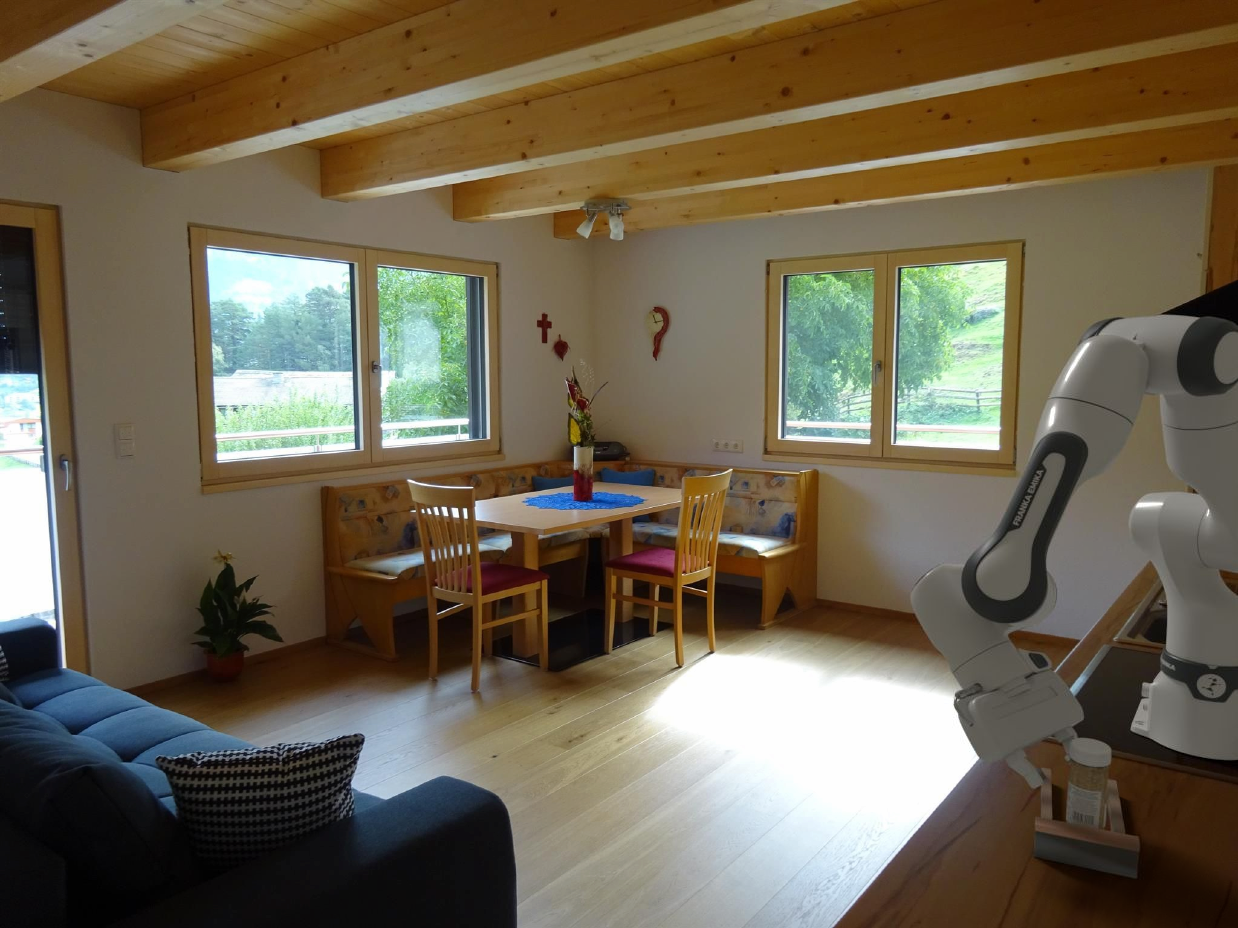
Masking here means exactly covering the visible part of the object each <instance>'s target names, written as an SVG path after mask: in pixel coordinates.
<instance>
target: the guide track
mask: <svg viewBox="0 0 1238 928" xmlns="http://www.w3.org/2000/svg"><path fill="white" fill-rule="evenodd" d="M1041 770H1042V771H1043V773H1044V775H1045V776H1046V777H1047V780H1048V781H1047V782H1046V783H1044V784H1043V785H1041V786H1040V816H1035V818H1034V819H1035V820H1034V840H1033V841H1034V842H1033V843H1034V844H1033V857H1034V858H1038V859H1043V860H1047V861H1052V862H1056V863H1061V864H1065V865H1070V866H1075V867H1080V868H1083V869H1084V868H1085V869H1090V870H1095V871H1099V872H1103V873H1108V874H1114V875H1117V876H1122V877H1128V878H1131V879H1135V880H1137V879H1138V870H1139V869H1138V867H1139V858H1140V857H1139V856H1140V850H1141V844H1140V838H1139V836H1137V835H1132V834H1126V828H1125V823H1124V817H1123V812H1122V806H1121V799H1120V794H1119V790H1118V784H1117V783H1118V782H1117V780H1115V779H1110V778H1108V785H1107V799H1106V803H1107V813H1108V821H1109V826H1110V830H1105V829H1104V830H1102V829H1097V828H1092V827H1086V826H1081V825H1076V824H1071V823H1066V821H1062V820H1055V819H1053V803H1052V802H1053V798H1052V793H1053V792H1052V789H1053V788H1052V769H1051V768H1046V767H1041Z"/></svg>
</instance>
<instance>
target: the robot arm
mask: <svg viewBox="0 0 1238 928" xmlns="http://www.w3.org/2000/svg"><path fill="white" fill-rule="evenodd" d="M1145 395H1146V396H1147V395H1149V396H1155V395H1159V408H1160V409H1159V410H1160V421H1161V429H1162V436H1163V444H1164V451H1165V460H1166V464H1167V466H1168V468H1169V470H1170V472H1171V474H1173V475H1174V476H1175V477H1176V478H1177V479H1179V480H1180V481H1181V482H1183V483H1185V484H1186V485H1188V486H1189V487H1191V488H1192V489H1193V490H1195V491H1196V493H1193V492H1186V491H1185V492H1184V491H1164V492H1161V491H1160V492H1150V493H1147V494H1145V495H1143V496H1142V497H1141V498H1140V499H1138V500H1137V502H1135V504H1134V506H1133V507H1132V509H1131V511H1130V514H1129V515H1128V516H1129V517H1128V530H1129V531H1128V532H1129V535H1130V537H1131V540H1132V542H1133V543H1134V545H1135V546H1136V547H1137V548H1138V549H1139V550H1140V551H1141V552H1142V553H1143V554H1144V555H1145V556H1146V557H1147V558H1148V559H1149V561H1150V562H1151V563H1152V565H1153V566H1154V568H1155V570H1156V572H1157V575H1158V576H1159V578H1160V581H1161V583H1162V586H1163V589H1164V593H1165V597H1166V604H1167V605H1166V606H1167V607H1166V608H1167V611H1166V612H1167V618H1166V619H1167V621H1166V623H1167V625H1166V641H1165V643H1166V644H1165V646H1163V648H1162V653H1161V655H1160V664H1159V665H1160V671H1159V673H1158V674H1157V675H1156V676H1155V678H1154V679H1153V682H1152V683H1150V682H1142V687H1141V697H1144V698H1142V699H1141V700H1140V703H1139V705H1138V708H1137V709H1136V713H1135V715H1134V718H1133V720H1132V722H1131V726H1130V731H1131V732H1133V733H1135V734H1137V735H1140V736H1144V737H1146V738H1149V739H1151V740H1153V741H1154V742H1156V743H1157V744H1160V745H1162V746H1163V747H1167V748H1169V749H1171V750H1174V751H1177V752H1179V753H1184V754H1186V755H1187V754H1188V755H1190V756H1194V757H1201V758H1206V759H1211V760H1222V761H1235V760H1236V761H1237V760H1238V595H1237V594H1236V593H1234V592H1233V591H1232V590H1231V589H1230V588H1229V587H1228V586H1227V585H1226V583H1225V581H1224V580H1223V578H1222V576H1221V573H1220V571H1226V572H1230V573H1235V574H1238V325H1237V324H1236V323H1235V322H1233V321H1231V320H1227V319H1224V318H1219V317H1215V316H1208V315H1207V316H1201V317H1196V316H1189V315H1177V314H1156V315H1150V316H1137V317H1136V316H1135V317H1134V316H1133V317H1126V318H1125V317H1121V316H1116V317H1111V318H1105V319H1102V320H1099V321H1097V322H1095V323H1093V324H1092V325H1090V326H1089V328H1087V329H1086V330H1085V332H1084V333H1083V335H1082V336H1081V338H1080V339H1079V341H1078V344H1077V347H1076V348H1075V350H1074V351H1073V353H1072V355H1070V357H1069V359H1068V360H1067V362H1066V364H1065V365H1064V367H1063V368H1062V371H1061V372H1060V374H1059V375H1058V378H1057V379H1056V381H1055V383H1054V385H1053V387H1052V389H1051V392H1050V394H1049V396H1048V398H1047V401H1046V403H1045V405H1044V408H1043V410H1042V413H1041V415H1040V419H1039V422H1038V425H1037V427H1036V428H1037V429H1036V431H1035V435H1034V440H1033V444H1032V447H1031V451H1030V455H1029V458H1028V461H1027V465H1026V467H1025V469H1024V472H1023V474H1022V476H1021V477H1020V480H1019V482H1018V484H1017V486H1016V489H1015V490H1014V493H1013V495H1012V497H1011V500H1010V501H1009V503H1008V506H1007V508H1006V510H1005V512H1004V514H1003V516H1002V518H1001V520H1000V522H999V524H998V526H997V528H996V530H995V531H994V532H993V533H992V534H991V535H990V537H989V538H988V539H986V540H985V542H983V543H982V544H981V545H980V546H979V547H978V548H976V550H975V551H973V553H971V555H970V556H969V558H968V559H967V560H966V561H965V563H958V564H954V563H953V564H952V563H948V562H945V563H941V564H938V565H936V566H935V567H933V568H931V569H929V570H928V571H927V572H925V573H924V574H923V575H922V576H921V577H920V578H919V579H918V580H917V582H916V583H915V585H914V587H913V588H912V589H911V593H910V604H911V607H912V610H913V612H914V614H915V617H916V619H917V620H918V622H919V624H920V626H921V627H922V629H923V631H924V632H925V634H926V636H927V637H928V639H929V640H930V642H931V644H932V645H933V646H934V648H935V649H936V650H937V651H939V652H940V654H941V655H943V657H944V658H945V660H946V662H947V663H948V664H947V665H948V667H949V669H950V672H951V674H952V676H953V677H954V679H955V681H956V682H957V683H958V684H959V686H960V688H961V689H960V690H957V691H956V692H955V693H954V698H953V708H954V710H955V711H956V712H957V718H958V720H959V723H960V726H961V728H962V730H963V732H964V733H965V735H966V738H967V740H968V741H969V744H970V745H971V747H972V749H973V751H974V752H975V754H976V756H977V757H978V758H979V760H982V761H983V762H984V763H986V764H987V765H990V764H993V763H995V762H997V761H1000V760H1002V759H1004V760H1005V762H1006V763H1007V765H1008V767H1010V768H1011V769H1012V770H1014V771H1015V772H1017V774H1019V775H1021V776H1022V777H1023V778H1024V779H1025V781H1026V782H1027V783H1028V785H1029V787H1030V788H1031V789H1036V788H1039V787H1041V785H1043V784H1044V783H1046V782H1047V781H1048V780H1047V777H1046V776H1045V775H1044V773H1043V771H1042V767H1037V768H1036V767H1035V766H1034V764H1032V763H1031V762H1030V761H1029V760H1028V759H1026V758H1027V754H1026V752H1025V750H1024V749H1026V748H1028V747H1032V745H1033V746H1034V745H1035V744H1037V743H1040V742H1041V741H1042V742H1043V740H1047V739H1049V738H1050V737H1053V736H1054V737H1055V739H1056V740H1057V742H1058V743H1062V745H1063V746H1062V747H1063V748H1064V750H1065V754H1066V755H1065V756H1064V759H1065V760H1066V762H1067V763H1068V765H1069V766H1070V756H1069V749H1070V742H1071V741H1072V740H1073V739H1076V738H1079V737H1078V734H1077V732H1076V730H1075V729H1074V728H1073V727H1074V726H1075V725H1077V724H1079V723H1080V722H1082V721H1083V720H1084V719H1085V714H1084V711H1083V707H1082V705H1081V704H1080V702H1079V701H1078V699H1077V698H1076V696H1075V695H1074V694H1073V692H1072V691H1071V690H1070V688H1069V686H1068V685H1067V684H1066V682H1065V681H1064V680H1063V679H1062V677H1061V676H1060V675H1059V674H1058V673H1056V672H1055V671H1053V670H1051V668H1052V667H1053V663H1052V661H1051V660H1050V658H1049V657H1048V656H1047V654H1045V653H1043V652H1040V651H1039V652H1038V651H1030V650H1026V649H1023V648H1016V647H1015V645H1014V644H1013V642H1012V641H1011V639H1010V638H1009V634H1010V633H1015V632H1017V631H1021V630H1023V629H1027V628H1030V627H1033V626H1036V625H1039V624H1040V623H1042V622H1043V621H1044V620H1046V619H1047V618H1048V617H1049V616H1050V614H1051V613H1052V612H1053V610H1054V609H1055V606H1056V603H1057V599H1058V588H1057V585H1056V582H1055V580H1054V578H1053V577H1052V575H1051V573H1050V572H1049V571H1048V570H1047V569H1048V568H1047V557H1048V552H1049V548H1050V546H1051V543H1052V542H1053V539H1054V537H1055V535H1056V532H1057V530H1058V528H1059V526H1060V524H1061V521H1062V519H1063V517H1064V514H1065V512H1066V510H1067V508H1068V506H1069V504H1070V502H1071V499H1072V498H1073V496H1074V494H1075V493H1076V492H1077V491H1078V489H1079V488H1080V487H1081V486H1082V485H1083V484H1085V483H1086V482H1088V481H1089V480H1091V479H1095V478H1098V477H1100V476H1102V475H1104V474H1105V473H1107V472H1108V471H1109V470H1110V469H1111V468H1112V466H1113V465H1114V463H1115V462H1116V460H1117V459H1118V457H1119V455H1120V454H1121V452H1122V451H1123V449H1124V447H1125V445H1126V443H1127V441H1129V440H1128V439H1129V437H1130V435H1131V432H1132V430H1133V427H1134V426H1135V423H1136V420H1137V418H1138V415H1139V411H1140V409H1141V406H1142V402H1143V399H1144V396H1145Z"/></svg>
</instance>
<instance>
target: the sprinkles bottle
mask: <svg viewBox="0 0 1238 928" xmlns="http://www.w3.org/2000/svg"><path fill="white" fill-rule="evenodd" d="M1069 756H1070V765H1069V771H1068V772H1069V774H1068V783H1067V794H1066V798H1067V799H1066V809H1065V810H1066V812H1065V819H1066V821H1065V822H1066V823H1071V824H1076V825H1081V826H1086V827H1092V828H1097V829H1102V830H1105V827H1106V823H1107V810H1108V807H1107V800H1106V799H1107V785H1108V779H1109V769H1110V765H1111V763H1112V748H1111V746H1109V745H1108V744H1107V743H1105V742H1103V741H1100V740H1098V739H1094V738H1089V737H1088V738H1087V737H1078V738H1076V739H1073V740H1072V741H1071V742H1070V749H1069Z"/></svg>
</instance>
